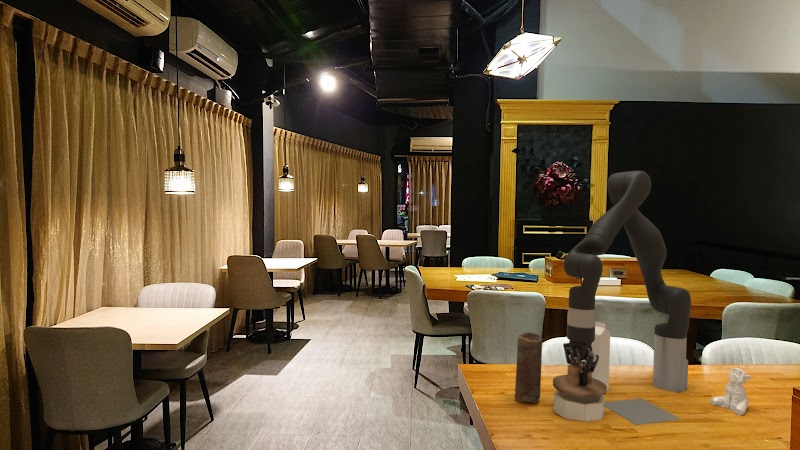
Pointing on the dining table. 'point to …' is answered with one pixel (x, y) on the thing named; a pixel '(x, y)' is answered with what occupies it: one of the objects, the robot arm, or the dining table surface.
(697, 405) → the dining table surface
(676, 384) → the robot arm
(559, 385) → the lid
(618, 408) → the mat
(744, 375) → the sitting furry creature
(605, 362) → the milk
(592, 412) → the bowl
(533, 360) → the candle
